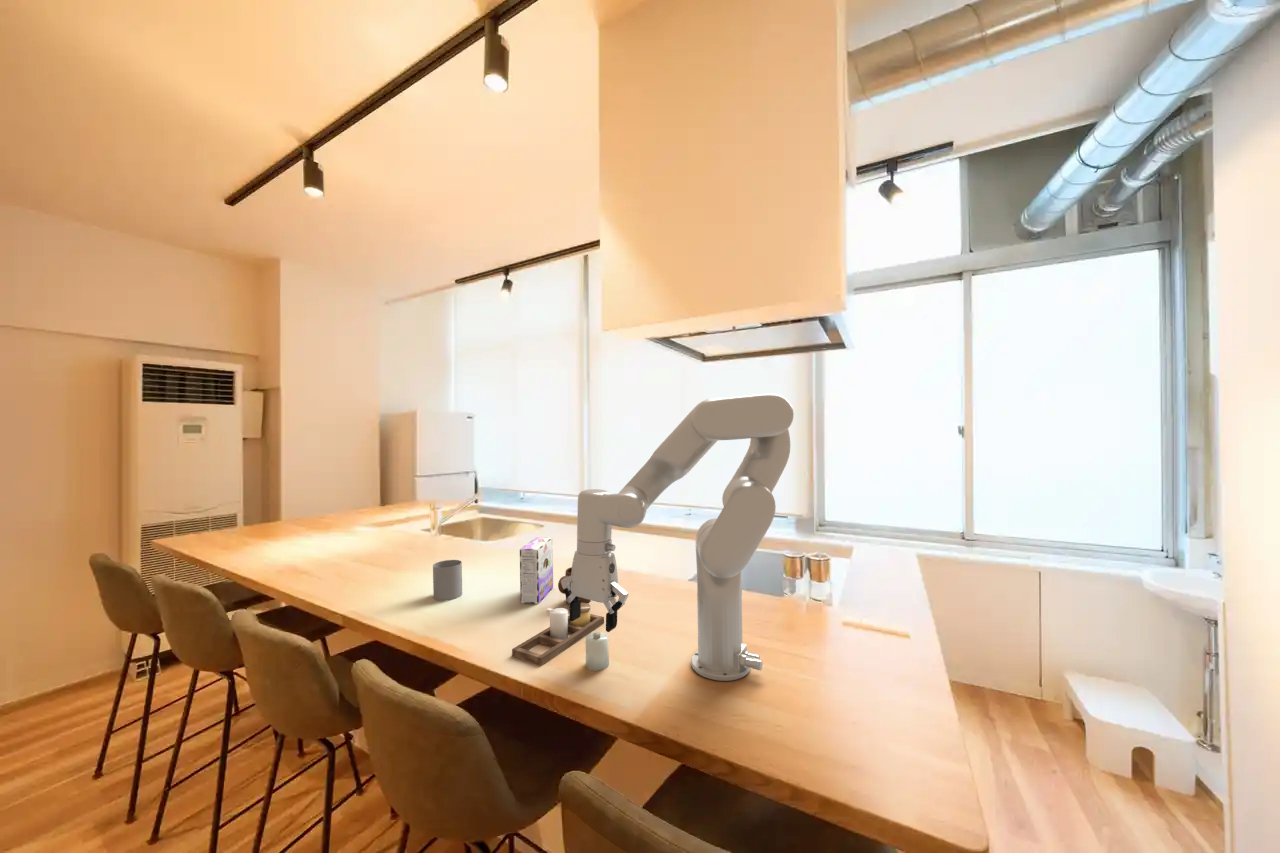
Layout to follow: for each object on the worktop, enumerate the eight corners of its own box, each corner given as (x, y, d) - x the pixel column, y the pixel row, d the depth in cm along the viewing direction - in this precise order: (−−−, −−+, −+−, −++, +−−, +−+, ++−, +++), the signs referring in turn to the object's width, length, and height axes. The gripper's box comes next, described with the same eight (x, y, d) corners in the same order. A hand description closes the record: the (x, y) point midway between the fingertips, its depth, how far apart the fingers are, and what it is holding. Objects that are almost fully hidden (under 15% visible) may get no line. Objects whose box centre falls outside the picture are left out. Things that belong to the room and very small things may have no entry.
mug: (569, 613, 130) (568, 580, 130) (549, 608, 134) (549, 575, 134) (596, 599, 140) (596, 568, 140) (577, 594, 144) (576, 564, 144)
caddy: (604, 622, 123) (604, 616, 123) (541, 665, 102) (541, 658, 102) (577, 616, 128) (577, 610, 128) (512, 655, 107) (512, 649, 107)
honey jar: (594, 624, 123) (594, 604, 123) (582, 632, 118) (582, 612, 118) (578, 620, 125) (578, 601, 125) (565, 628, 121) (565, 608, 121)
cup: (455, 600, 141) (454, 567, 141) (428, 601, 141) (427, 568, 141) (466, 590, 149) (465, 559, 149) (440, 590, 149) (440, 559, 149)
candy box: (536, 587, 151) (535, 536, 151) (553, 587, 150) (552, 537, 150) (519, 603, 137) (518, 548, 137) (538, 604, 137) (537, 548, 136)
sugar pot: (613, 662, 103) (612, 631, 103) (600, 672, 99) (599, 641, 99) (594, 656, 106) (594, 626, 106) (581, 667, 101) (580, 635, 101)
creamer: (571, 636, 116) (571, 610, 116) (560, 643, 112) (559, 616, 112) (553, 631, 119) (553, 605, 119) (542, 638, 115) (541, 611, 115)
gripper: (636, 548, 101) (635, 627, 101) (573, 537, 110) (571, 609, 110) (618, 557, 94) (616, 641, 95) (552, 544, 103) (550, 621, 103)
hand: (592, 624), depth 102 cm, fingers open, 9 cm apart
